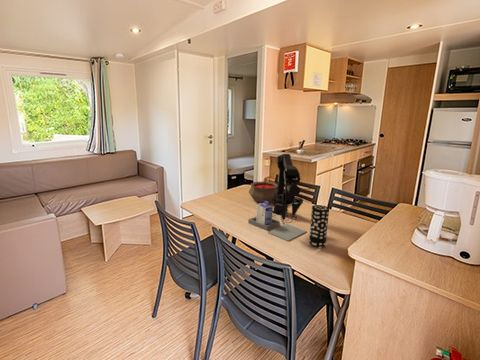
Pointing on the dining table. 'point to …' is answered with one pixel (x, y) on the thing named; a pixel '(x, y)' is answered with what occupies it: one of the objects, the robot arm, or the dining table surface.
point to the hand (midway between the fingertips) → (288, 217)
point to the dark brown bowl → (263, 191)
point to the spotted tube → (318, 226)
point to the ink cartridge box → (264, 213)
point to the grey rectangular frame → (262, 226)
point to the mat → (287, 232)
